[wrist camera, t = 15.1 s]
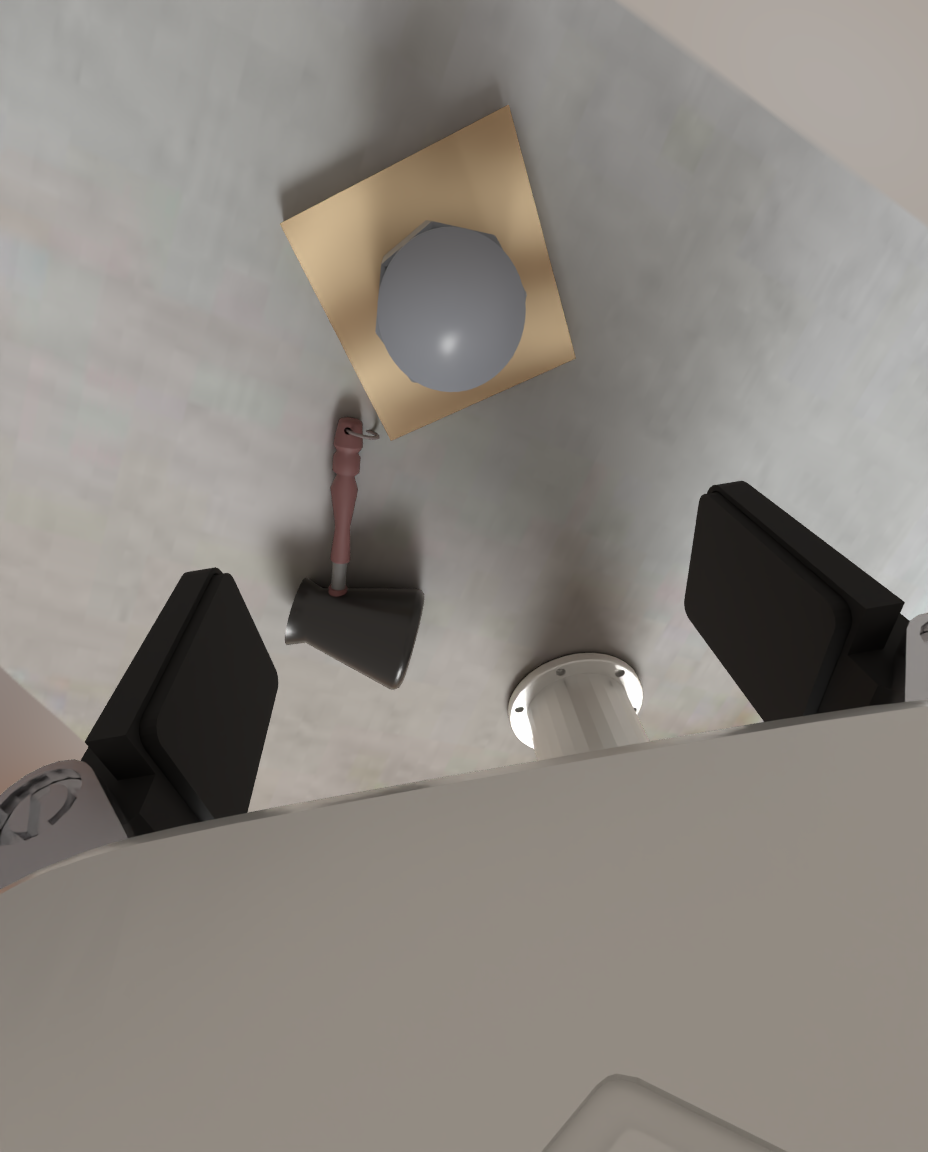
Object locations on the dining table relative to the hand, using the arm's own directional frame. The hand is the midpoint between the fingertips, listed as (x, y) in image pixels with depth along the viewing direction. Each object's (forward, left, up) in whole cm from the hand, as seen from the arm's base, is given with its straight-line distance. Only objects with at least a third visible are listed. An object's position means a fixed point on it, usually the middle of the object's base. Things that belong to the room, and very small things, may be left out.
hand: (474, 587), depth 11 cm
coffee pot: (-11, +9, -25) cm, 28 cm away
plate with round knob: (+2, -2, -24) cm, 24 cm away
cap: (+2, -2, -22) cm, 22 cm away
